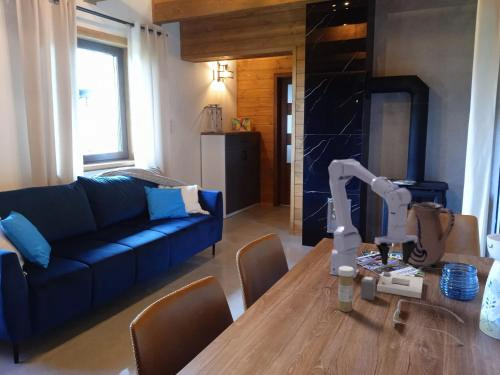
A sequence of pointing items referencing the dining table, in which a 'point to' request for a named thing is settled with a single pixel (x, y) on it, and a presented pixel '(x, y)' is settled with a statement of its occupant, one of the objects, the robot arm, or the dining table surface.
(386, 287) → the socket plate
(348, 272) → the sprinkles bottle
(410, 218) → the ceramic pitcher
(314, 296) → the dining table surface
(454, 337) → the eyeglasses
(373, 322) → the dining table surface
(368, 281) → the plug
